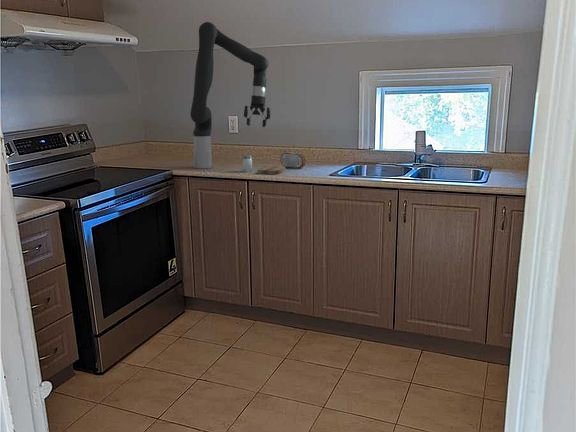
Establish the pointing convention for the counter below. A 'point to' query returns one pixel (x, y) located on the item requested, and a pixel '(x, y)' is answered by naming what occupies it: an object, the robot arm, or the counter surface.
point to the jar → (247, 163)
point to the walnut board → (271, 170)
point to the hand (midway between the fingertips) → (256, 126)
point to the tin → (292, 160)
